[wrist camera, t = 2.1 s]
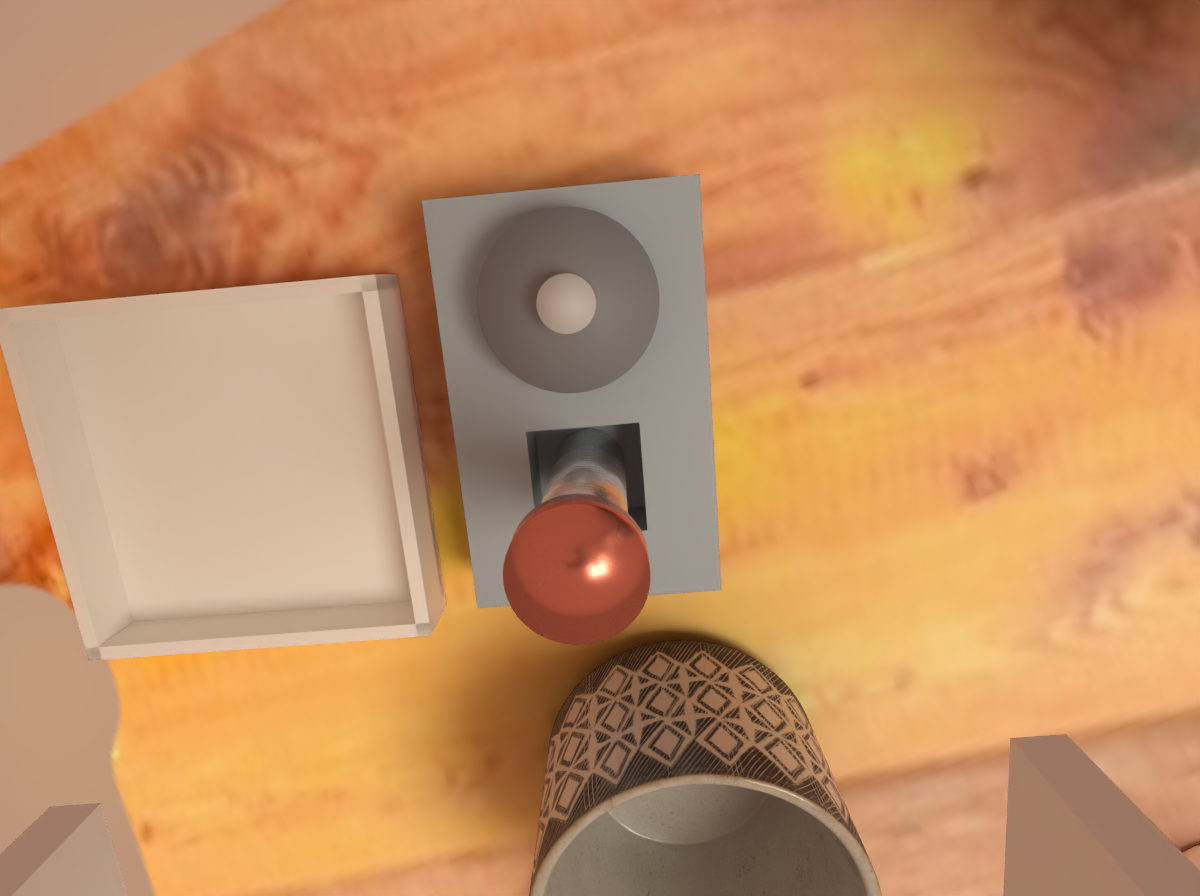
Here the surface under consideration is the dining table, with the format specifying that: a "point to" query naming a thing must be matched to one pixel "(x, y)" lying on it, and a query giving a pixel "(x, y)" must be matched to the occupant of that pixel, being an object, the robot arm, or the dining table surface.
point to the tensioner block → (579, 360)
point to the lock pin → (579, 548)
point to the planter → (691, 785)
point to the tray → (231, 465)
